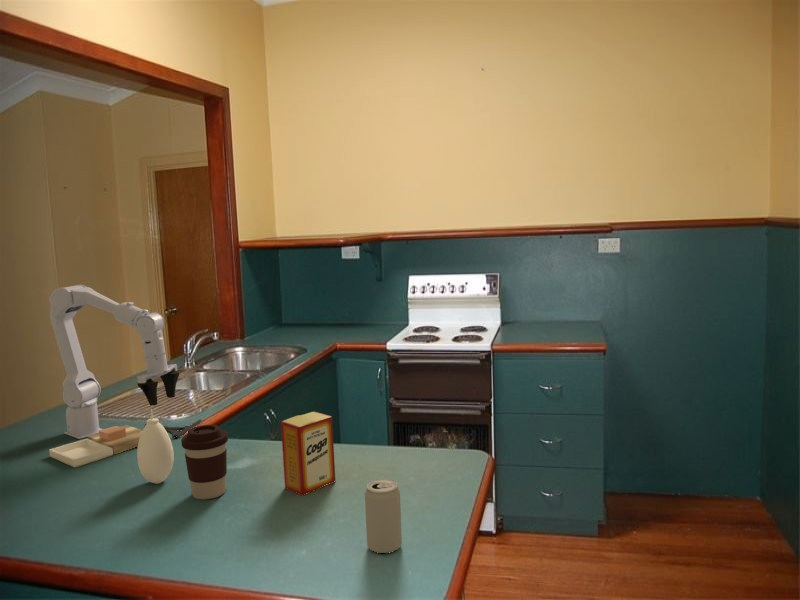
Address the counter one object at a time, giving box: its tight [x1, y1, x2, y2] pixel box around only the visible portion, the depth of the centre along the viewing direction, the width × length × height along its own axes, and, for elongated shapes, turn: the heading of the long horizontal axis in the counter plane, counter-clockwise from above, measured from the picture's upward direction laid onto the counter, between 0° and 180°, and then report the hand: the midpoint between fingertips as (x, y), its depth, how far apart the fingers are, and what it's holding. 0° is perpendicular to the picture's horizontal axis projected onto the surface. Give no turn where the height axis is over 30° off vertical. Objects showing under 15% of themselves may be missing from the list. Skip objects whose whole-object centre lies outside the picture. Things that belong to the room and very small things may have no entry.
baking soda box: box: [280, 411, 336, 496], centre depth 145 cm, size 10×6×16 cm
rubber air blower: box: [136, 408, 175, 485], centre depth 150 cm, size 8×8×18 cm
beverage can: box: [364, 478, 403, 554], centre depth 116 cm, size 6×6×12 cm
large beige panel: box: [87, 424, 143, 456], centre depth 179 cm, size 14×12×2 cm
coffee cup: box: [180, 424, 229, 501], centre depth 142 cm, size 10×10×15 cm
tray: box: [48, 438, 114, 469], centre depth 170 cm, size 14×10×2 cm
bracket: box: [143, 419, 203, 439], centre depth 189 cm, size 14×15×3 cm
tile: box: [99, 425, 126, 442], centre depth 177 cm, size 5×5×2 cm
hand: (162, 401), depth 184 cm, fingers open, 7 cm apart
